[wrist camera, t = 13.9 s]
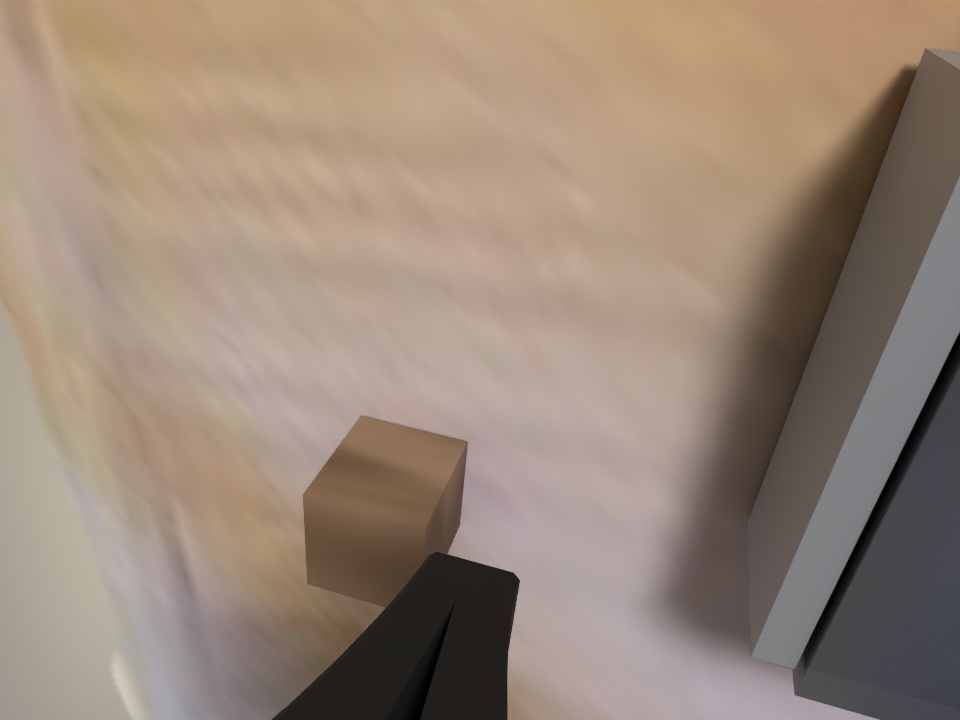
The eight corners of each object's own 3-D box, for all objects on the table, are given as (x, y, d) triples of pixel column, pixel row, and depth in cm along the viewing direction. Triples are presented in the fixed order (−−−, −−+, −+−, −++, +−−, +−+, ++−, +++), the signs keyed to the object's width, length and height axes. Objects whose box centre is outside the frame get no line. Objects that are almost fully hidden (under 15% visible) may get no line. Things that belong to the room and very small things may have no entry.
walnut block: (459, 525, 25) (419, 616, 22) (360, 499, 26) (307, 583, 23) (467, 441, 23) (425, 527, 20) (360, 415, 24) (302, 494, 21)
